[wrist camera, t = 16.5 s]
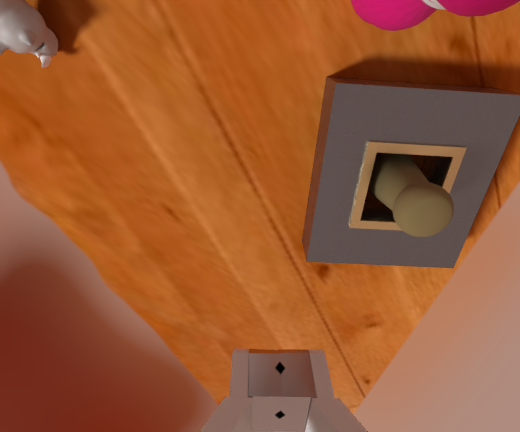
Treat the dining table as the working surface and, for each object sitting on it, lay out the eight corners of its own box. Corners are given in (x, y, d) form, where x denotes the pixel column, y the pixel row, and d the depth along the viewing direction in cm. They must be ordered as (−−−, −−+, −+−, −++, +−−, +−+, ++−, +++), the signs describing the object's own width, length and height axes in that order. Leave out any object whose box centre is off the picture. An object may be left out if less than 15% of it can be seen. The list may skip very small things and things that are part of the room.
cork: (424, 163, 39) (481, 207, 29) (391, 204, 41) (432, 256, 31) (384, 138, 37) (429, 176, 27) (351, 182, 40) (382, 230, 30)
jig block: (326, 76, 34) (336, 83, 30) (497, 88, 35) (530, 96, 30) (302, 240, 44) (307, 263, 39) (435, 247, 44) (454, 269, 40)
